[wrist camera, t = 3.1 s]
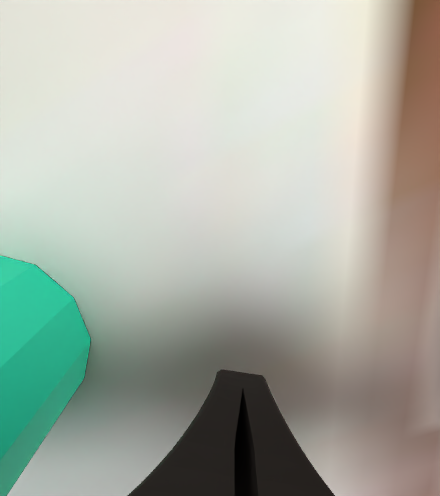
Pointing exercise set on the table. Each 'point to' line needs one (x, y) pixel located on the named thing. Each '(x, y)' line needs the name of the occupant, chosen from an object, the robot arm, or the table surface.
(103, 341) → the table surface
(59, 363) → the candle
